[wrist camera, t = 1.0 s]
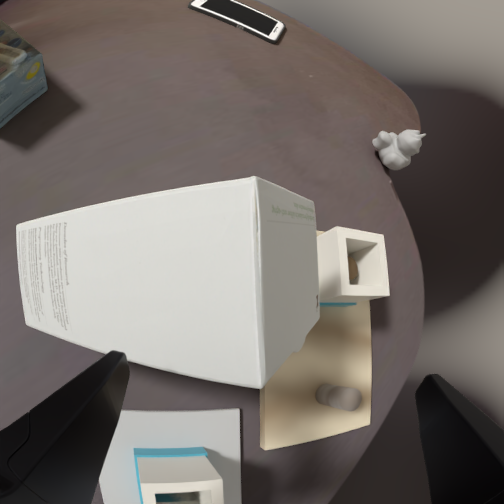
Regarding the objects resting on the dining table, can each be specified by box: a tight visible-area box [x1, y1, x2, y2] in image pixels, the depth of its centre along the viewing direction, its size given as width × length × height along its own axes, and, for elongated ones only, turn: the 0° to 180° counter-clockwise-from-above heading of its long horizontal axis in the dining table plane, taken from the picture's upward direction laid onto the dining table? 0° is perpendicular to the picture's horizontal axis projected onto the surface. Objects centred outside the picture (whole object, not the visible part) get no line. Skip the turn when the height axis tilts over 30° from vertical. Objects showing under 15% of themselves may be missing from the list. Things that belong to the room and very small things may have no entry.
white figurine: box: [373, 130, 426, 170], centre depth 35 cm, size 5×7×8 cm
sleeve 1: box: [133, 447, 224, 504], centre depth 16 cm, size 6×6×6 cm
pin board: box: [260, 231, 372, 450], centre depth 26 cm, size 20×12×5 cm, turn 1°
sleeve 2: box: [317, 226, 390, 307], centre depth 26 cm, size 6×6×6 cm
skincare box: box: [16, 176, 320, 389], centre depth 15 cm, size 8×7×16 cm
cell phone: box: [188, 0, 285, 44], centre depth 36 cm, size 8×15×1 cm, turn 72°
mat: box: [99, 408, 242, 504], centre depth 19 cm, size 12×12×1 cm
